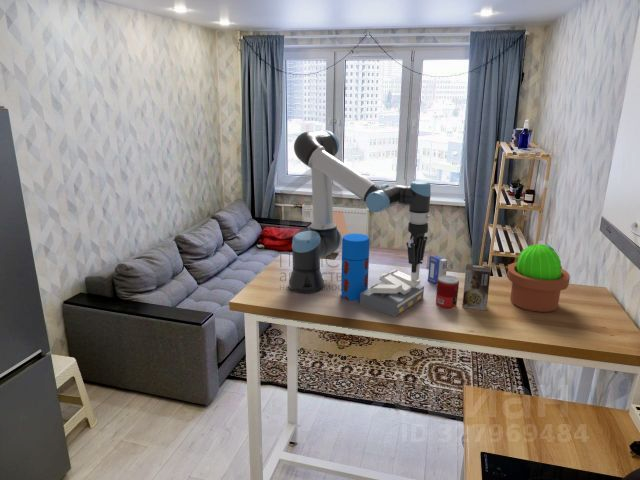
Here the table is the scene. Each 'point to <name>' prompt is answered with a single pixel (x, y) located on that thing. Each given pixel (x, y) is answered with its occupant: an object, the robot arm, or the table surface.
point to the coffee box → (476, 287)
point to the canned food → (447, 291)
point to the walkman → (436, 268)
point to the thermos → (354, 265)
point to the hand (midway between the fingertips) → (414, 279)
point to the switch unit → (391, 300)
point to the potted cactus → (537, 279)
